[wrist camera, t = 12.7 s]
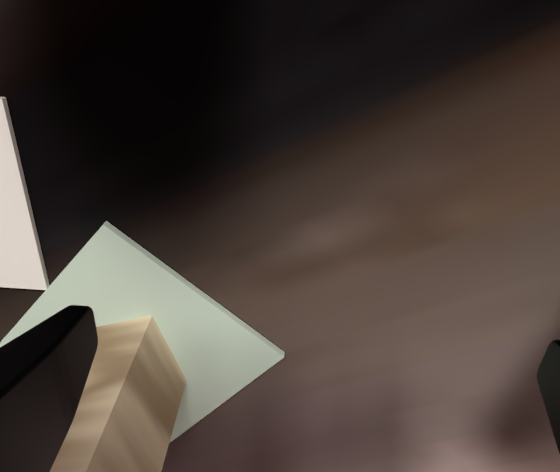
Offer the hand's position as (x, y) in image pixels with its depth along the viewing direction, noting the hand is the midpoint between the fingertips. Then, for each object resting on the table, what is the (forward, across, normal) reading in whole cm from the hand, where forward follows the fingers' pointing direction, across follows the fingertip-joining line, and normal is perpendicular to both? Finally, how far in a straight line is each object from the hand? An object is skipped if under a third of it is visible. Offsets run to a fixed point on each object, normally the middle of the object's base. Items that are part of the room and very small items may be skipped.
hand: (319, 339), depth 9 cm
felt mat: (+13, +9, +14) cm, 21 cm away
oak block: (+13, +9, +14) cm, 20 cm away
